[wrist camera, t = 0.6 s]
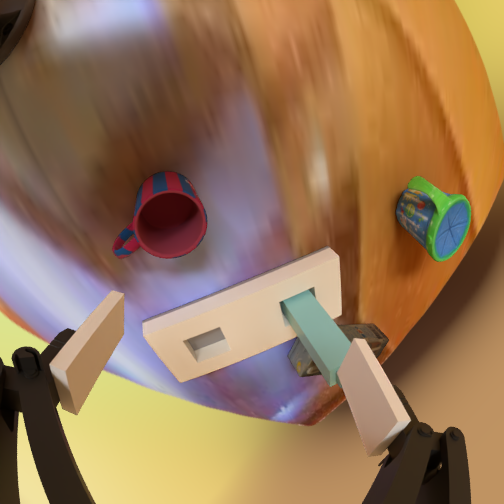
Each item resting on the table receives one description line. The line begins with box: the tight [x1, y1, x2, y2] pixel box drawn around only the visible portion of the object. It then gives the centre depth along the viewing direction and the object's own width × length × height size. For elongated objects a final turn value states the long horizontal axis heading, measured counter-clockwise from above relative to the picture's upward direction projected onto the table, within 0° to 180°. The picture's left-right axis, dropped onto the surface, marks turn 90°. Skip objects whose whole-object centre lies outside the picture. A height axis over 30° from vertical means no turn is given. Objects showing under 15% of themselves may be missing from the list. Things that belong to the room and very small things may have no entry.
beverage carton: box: [288, 324, 389, 377], centre depth 50 cm, size 8×19×7 cm, turn 73°
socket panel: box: [142, 246, 342, 383], centre depth 41 cm, size 12×28×3 cm, turn 105°
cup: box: [112, 172, 207, 259], centre depth 27 cm, size 7×10×7 cm
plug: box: [280, 290, 351, 388], centre depth 36 cm, size 4×4×16 cm
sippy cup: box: [396, 176, 471, 262], centre depth 38 cm, size 16×10×10 cm
